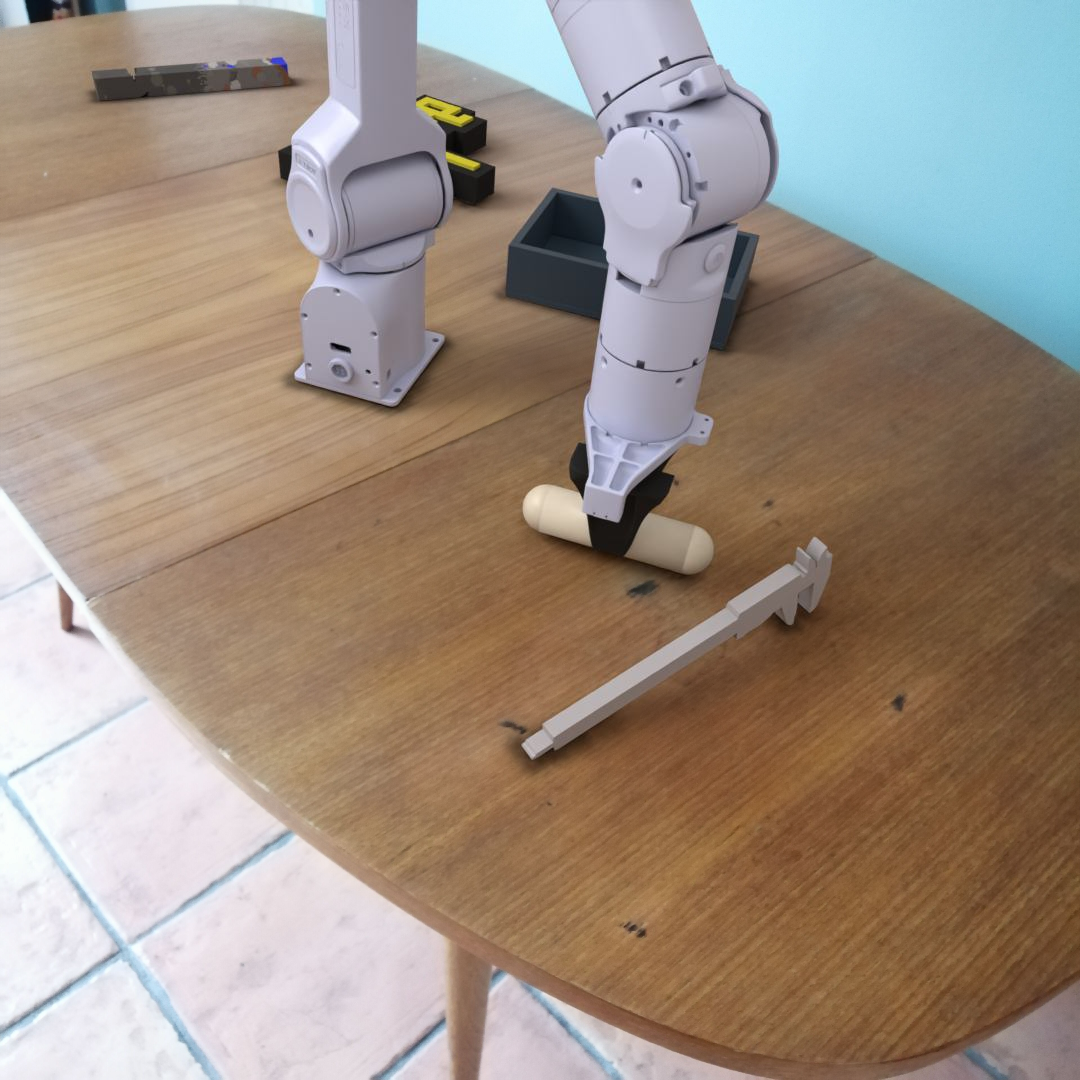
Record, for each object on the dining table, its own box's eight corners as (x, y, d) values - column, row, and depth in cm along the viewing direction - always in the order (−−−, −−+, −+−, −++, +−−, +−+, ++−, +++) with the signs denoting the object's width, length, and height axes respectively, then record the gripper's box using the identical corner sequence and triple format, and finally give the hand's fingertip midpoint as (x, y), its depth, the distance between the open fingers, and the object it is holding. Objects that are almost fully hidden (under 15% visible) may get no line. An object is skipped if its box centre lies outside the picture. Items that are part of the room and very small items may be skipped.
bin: (723, 350, 80) (735, 299, 77) (504, 296, 83) (508, 244, 80) (747, 283, 88) (759, 234, 84) (547, 235, 91) (552, 187, 88)
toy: (268, 143, 92) (399, 83, 105) (272, 178, 94) (399, 114, 107) (430, 203, 86) (547, 131, 99) (429, 238, 89) (544, 163, 101)
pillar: (91, 70, 103) (284, 56, 110) (95, 92, 104) (286, 77, 112) (94, 78, 102) (290, 64, 109) (99, 100, 103) (292, 84, 110)
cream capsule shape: (703, 590, 60) (713, 555, 58) (514, 534, 62) (517, 498, 60) (712, 557, 62) (723, 522, 60) (529, 504, 64) (533, 468, 62)
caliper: (801, 601, 61) (831, 526, 56) (814, 613, 60) (845, 538, 56) (520, 748, 52) (530, 672, 47) (532, 764, 51) (543, 688, 47)
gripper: (700, 442, 46) (652, 633, 55) (753, 291, 56) (704, 475, 66) (554, 402, 47) (531, 597, 57) (631, 262, 57) (600, 447, 67)
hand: (616, 530), depth 61 cm, fingers closed on cream capsule shape, 3 cm apart
